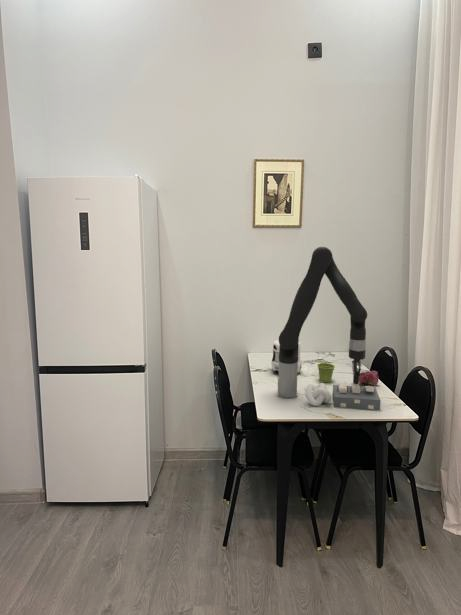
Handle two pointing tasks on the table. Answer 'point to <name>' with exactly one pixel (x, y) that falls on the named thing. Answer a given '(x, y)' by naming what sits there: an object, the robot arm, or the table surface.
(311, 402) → the white knot sculpture
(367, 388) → the rocker
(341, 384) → the rocker
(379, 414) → the table surface
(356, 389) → the rocker
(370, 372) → the flower
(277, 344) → the milk container
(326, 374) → the plant pot
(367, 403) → the switch unit
